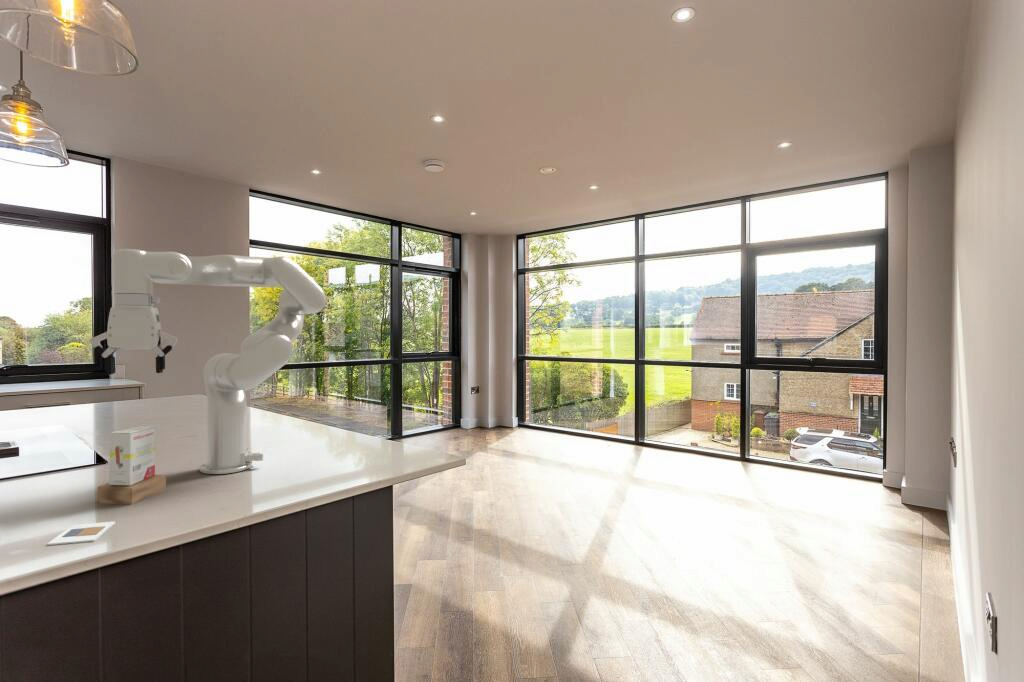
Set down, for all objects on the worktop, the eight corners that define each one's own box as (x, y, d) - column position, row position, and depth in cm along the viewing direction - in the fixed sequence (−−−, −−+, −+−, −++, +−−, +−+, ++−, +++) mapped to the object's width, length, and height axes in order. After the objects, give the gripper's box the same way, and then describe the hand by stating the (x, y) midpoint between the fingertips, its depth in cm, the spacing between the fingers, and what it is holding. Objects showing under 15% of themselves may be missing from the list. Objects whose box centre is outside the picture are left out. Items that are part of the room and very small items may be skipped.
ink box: (134, 474, 121) (136, 424, 121) (155, 475, 122) (157, 425, 121) (106, 485, 113) (108, 431, 113) (129, 486, 113) (131, 432, 113)
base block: (165, 491, 122) (166, 475, 122) (132, 506, 112) (132, 488, 112) (134, 490, 122) (134, 473, 122) (97, 504, 112) (97, 486, 112)
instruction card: (115, 522, 101) (115, 521, 101) (94, 541, 93) (94, 539, 93) (72, 526, 99) (72, 524, 99) (46, 545, 91) (46, 543, 91)
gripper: (179, 302, 129) (181, 370, 130) (95, 301, 123) (97, 372, 123) (172, 302, 122) (174, 373, 123) (82, 300, 116) (84, 376, 116)
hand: (135, 373), depth 123 cm, fingers open, 9 cm apart
